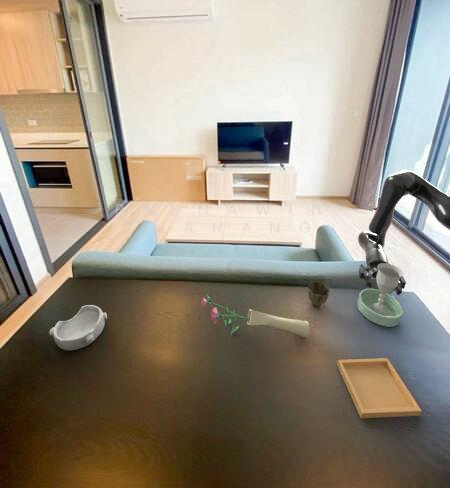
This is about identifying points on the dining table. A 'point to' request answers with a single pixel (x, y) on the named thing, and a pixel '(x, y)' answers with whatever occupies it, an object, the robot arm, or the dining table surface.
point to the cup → (317, 293)
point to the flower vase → (263, 320)
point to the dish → (79, 328)
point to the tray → (377, 388)
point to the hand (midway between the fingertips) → (384, 289)
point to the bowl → (390, 304)
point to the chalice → (385, 284)
